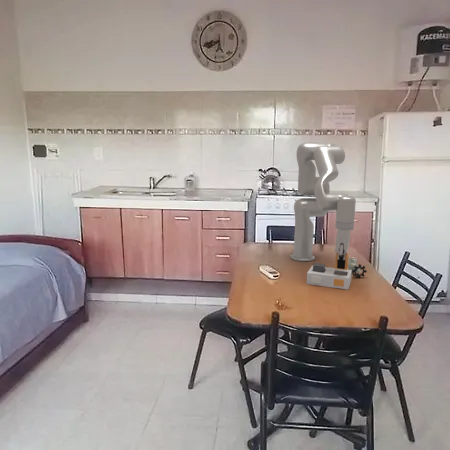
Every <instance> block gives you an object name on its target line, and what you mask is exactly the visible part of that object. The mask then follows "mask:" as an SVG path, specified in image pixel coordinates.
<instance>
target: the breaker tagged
mask: <svg viewBox="0 0 450 450" xmlns="http://www.w3.org/2000/svg"><path fill="white" fill-rule="evenodd" d="M335 274H338V275H346V276H347V272H344V271H336V272H335Z"/></svg>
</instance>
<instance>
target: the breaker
mask: <svg viewBox="0 0 450 450" xmlns="http://www.w3.org/2000/svg"><path fill="white" fill-rule="evenodd" d="M325 267H326V264H325V263H320V262H314V263H313V271H314V272H322V273H324V272H325Z"/></svg>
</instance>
